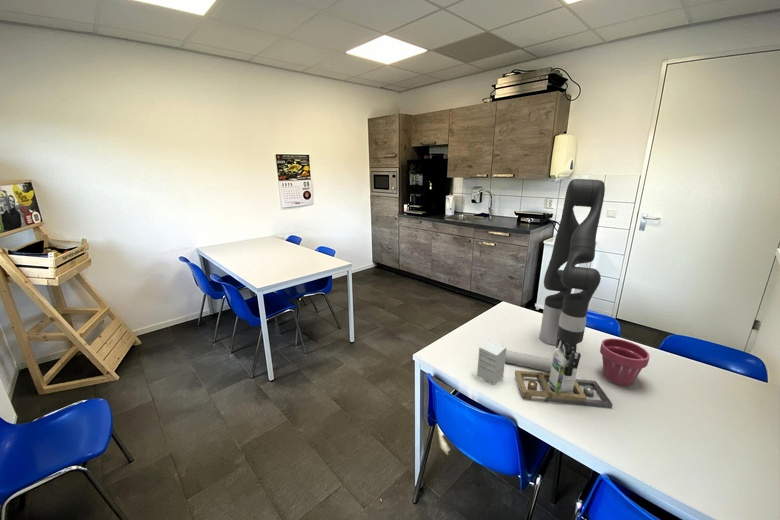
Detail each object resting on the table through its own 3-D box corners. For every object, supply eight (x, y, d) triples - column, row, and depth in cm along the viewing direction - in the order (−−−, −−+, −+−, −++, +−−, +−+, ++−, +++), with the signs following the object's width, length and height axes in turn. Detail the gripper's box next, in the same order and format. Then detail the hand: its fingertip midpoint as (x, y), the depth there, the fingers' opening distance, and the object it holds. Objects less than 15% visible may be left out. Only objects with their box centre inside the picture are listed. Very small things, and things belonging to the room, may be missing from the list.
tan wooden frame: (514, 377, 119) (515, 370, 119) (571, 382, 117) (572, 375, 116) (522, 399, 108) (523, 391, 107) (585, 405, 105) (587, 398, 104)
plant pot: (644, 377, 119) (652, 347, 115) (639, 397, 109) (647, 364, 105) (599, 362, 128) (605, 334, 125) (591, 378, 118) (597, 348, 115)
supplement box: (486, 368, 125) (488, 339, 121) (503, 376, 120) (507, 347, 116) (475, 376, 120) (478, 346, 116) (494, 385, 115) (497, 355, 111)
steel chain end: (536, 379, 118) (537, 373, 118) (594, 384, 115) (596, 378, 115) (547, 401, 107) (548, 395, 106) (611, 408, 104) (613, 401, 103)
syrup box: (547, 383, 114) (553, 347, 110) (563, 382, 114) (570, 346, 110) (557, 394, 108) (563, 357, 104) (573, 393, 109) (580, 356, 105)
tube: (557, 358, 125) (490, 345, 133) (559, 361, 120) (490, 347, 128) (555, 371, 125) (489, 357, 133) (557, 375, 120) (488, 360, 128)
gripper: (594, 337, 97) (584, 383, 102) (575, 316, 111) (567, 358, 115) (567, 335, 98) (559, 381, 103) (552, 314, 112) (545, 356, 117)
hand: (563, 369), depth 109 cm, fingers closed on syrup box, 6 cm apart
